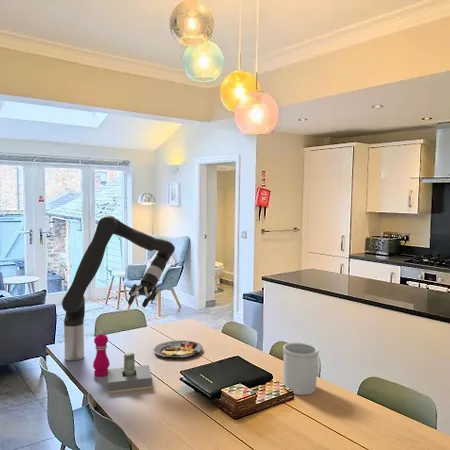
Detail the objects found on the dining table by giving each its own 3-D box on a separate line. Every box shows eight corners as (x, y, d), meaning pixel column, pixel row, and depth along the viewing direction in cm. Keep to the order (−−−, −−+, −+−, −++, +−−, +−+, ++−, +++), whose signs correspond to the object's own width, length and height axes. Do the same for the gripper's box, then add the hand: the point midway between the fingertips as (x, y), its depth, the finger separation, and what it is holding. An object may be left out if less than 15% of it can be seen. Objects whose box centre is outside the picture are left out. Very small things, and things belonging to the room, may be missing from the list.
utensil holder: (295, 377, 190) (296, 339, 188) (324, 388, 179) (325, 348, 178) (275, 387, 179) (275, 347, 178) (304, 399, 169) (305, 357, 168)
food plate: (205, 344, 231) (204, 338, 230) (199, 361, 207) (199, 354, 207) (160, 344, 233) (160, 337, 232) (149, 360, 209) (149, 353, 209)
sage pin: (123, 379, 183) (123, 353, 182) (134, 378, 185) (133, 352, 184) (124, 384, 179) (124, 357, 178) (135, 383, 181) (134, 356, 180)
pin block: (107, 379, 186) (107, 369, 186) (148, 374, 191) (148, 364, 191) (108, 393, 173) (107, 382, 172) (152, 388, 178) (152, 377, 177)
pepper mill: (104, 378, 187) (104, 334, 186) (90, 376, 188) (89, 333, 187) (112, 371, 194) (112, 329, 193) (98, 370, 195) (97, 328, 194)
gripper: (136, 271, 205) (120, 299, 195) (160, 273, 198) (144, 303, 189) (144, 279, 210) (128, 307, 200) (166, 282, 203) (151, 311, 194)
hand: (136, 305), depth 194 cm, fingers open, 8 cm apart
